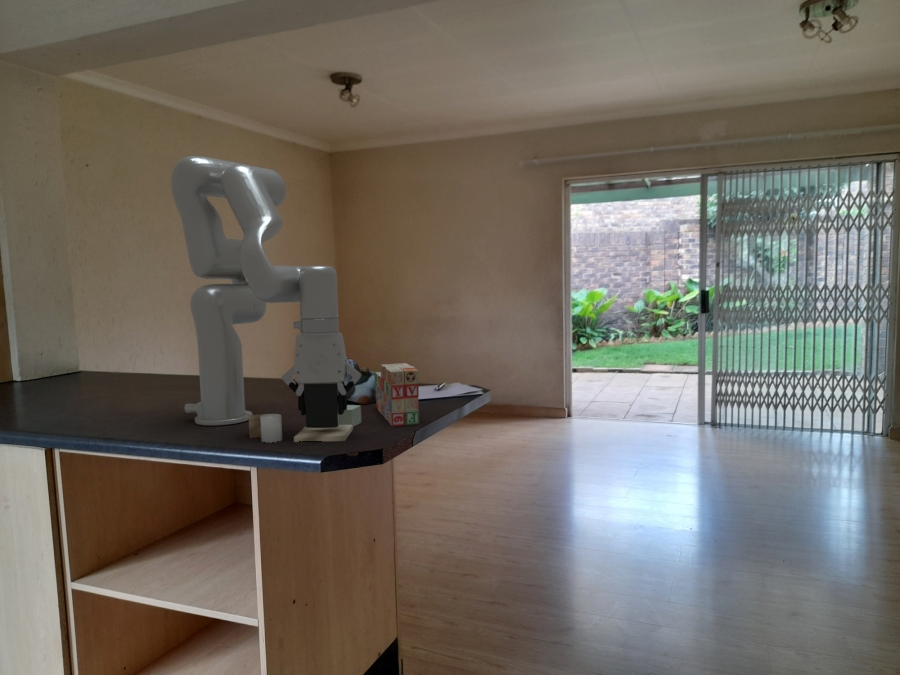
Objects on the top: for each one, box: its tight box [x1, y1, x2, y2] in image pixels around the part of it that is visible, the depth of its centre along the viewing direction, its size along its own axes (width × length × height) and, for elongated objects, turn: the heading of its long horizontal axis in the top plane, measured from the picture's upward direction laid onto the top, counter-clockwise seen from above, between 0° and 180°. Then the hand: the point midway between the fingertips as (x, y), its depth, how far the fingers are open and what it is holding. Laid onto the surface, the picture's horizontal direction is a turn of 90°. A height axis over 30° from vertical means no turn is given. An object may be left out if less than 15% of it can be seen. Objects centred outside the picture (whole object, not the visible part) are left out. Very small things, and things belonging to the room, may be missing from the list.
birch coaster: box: [293, 425, 354, 443], centre depth 126 cm, size 10×10×1 cm
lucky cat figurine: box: [343, 356, 376, 406], centre depth 164 cm, size 15×12×14 cm
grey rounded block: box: [260, 413, 283, 444], centre depth 123 cm, size 4×4×5 cm
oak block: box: [248, 413, 267, 439], centre depth 128 cm, size 4×4×4 cm
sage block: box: [339, 404, 362, 428], centre depth 136 cm, size 5×5×4 cm
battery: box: [304, 383, 339, 428], centre depth 126 cm, size 7×4×11 cm, turn 89°
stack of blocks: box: [374, 362, 420, 427], centre depth 144 cm, size 21×6×12 cm, turn 16°
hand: (323, 413), depth 126 cm, fingers closed on battery, 7 cm apart
